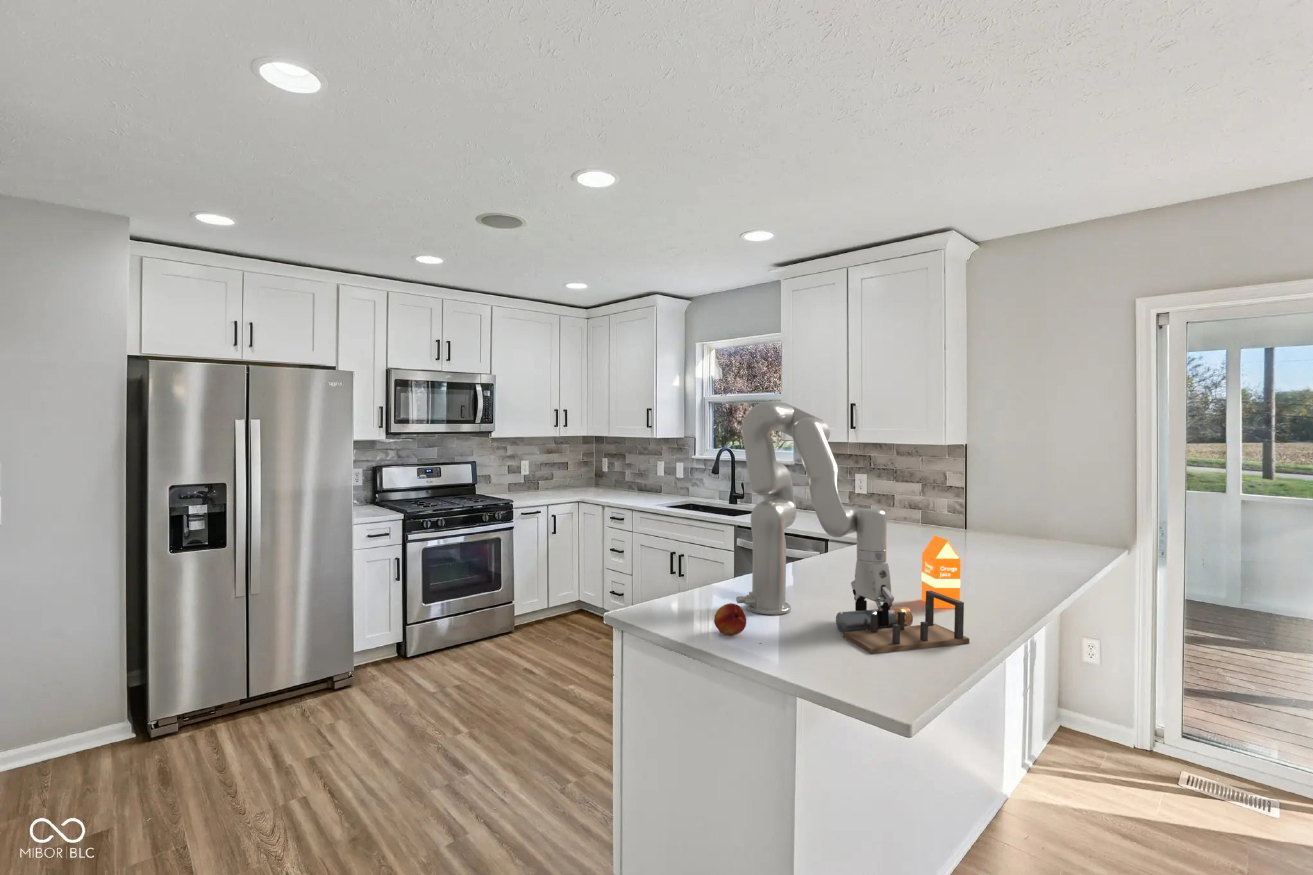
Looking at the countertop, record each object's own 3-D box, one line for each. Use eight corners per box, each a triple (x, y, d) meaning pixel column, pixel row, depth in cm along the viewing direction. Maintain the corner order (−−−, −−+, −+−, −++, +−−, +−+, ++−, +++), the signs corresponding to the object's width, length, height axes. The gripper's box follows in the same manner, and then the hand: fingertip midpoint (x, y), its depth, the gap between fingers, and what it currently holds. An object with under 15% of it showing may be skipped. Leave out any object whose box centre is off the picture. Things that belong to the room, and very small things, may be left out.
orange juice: (945, 599, 195) (946, 535, 195) (960, 607, 186) (961, 540, 186) (920, 599, 195) (921, 535, 194) (934, 607, 186) (935, 540, 186)
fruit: (720, 641, 155) (721, 609, 155) (709, 631, 163) (709, 600, 163) (750, 638, 157) (750, 607, 157) (737, 628, 165) (737, 598, 165)
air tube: (840, 635, 164) (849, 628, 160) (833, 616, 167) (842, 609, 163) (905, 628, 170) (915, 621, 166) (898, 610, 172) (908, 603, 168)
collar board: (871, 653, 148) (872, 610, 148) (842, 637, 159) (843, 596, 159) (969, 643, 156) (970, 602, 156) (934, 628, 167) (935, 589, 167)
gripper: (905, 561, 161) (905, 628, 161) (864, 549, 177) (864, 610, 177) (879, 563, 158) (879, 631, 159) (840, 550, 175) (840, 612, 175)
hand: (871, 620), depth 168 cm, fingers open, 8 cm apart
